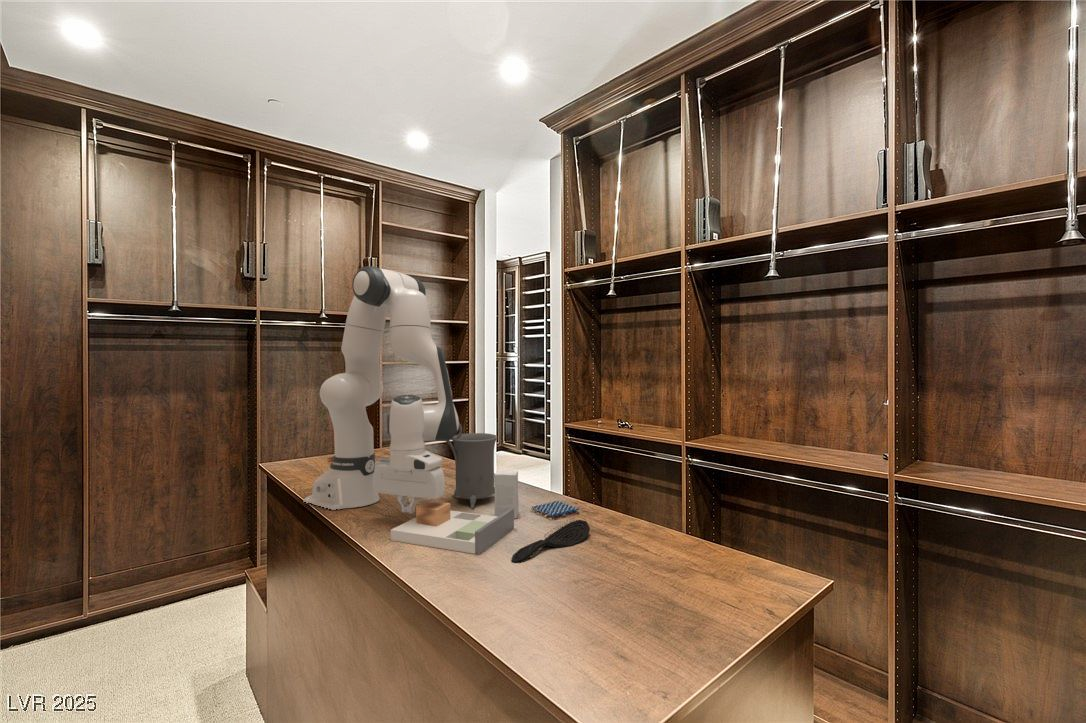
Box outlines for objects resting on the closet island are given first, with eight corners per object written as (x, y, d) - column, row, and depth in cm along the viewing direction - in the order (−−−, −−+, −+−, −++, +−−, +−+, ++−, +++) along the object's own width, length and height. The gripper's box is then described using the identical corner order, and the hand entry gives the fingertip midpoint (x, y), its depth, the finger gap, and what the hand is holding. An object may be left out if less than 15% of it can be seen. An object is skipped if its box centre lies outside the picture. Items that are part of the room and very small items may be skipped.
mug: (489, 491, 164) (488, 414, 164) (511, 502, 152) (510, 418, 151) (433, 500, 154) (432, 418, 154) (452, 513, 142) (451, 423, 141)
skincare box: (518, 514, 141) (518, 471, 140) (516, 519, 136) (516, 474, 136) (497, 513, 141) (496, 470, 141) (494, 518, 137) (493, 474, 137)
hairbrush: (498, 546, 111) (570, 513, 129) (499, 563, 111) (571, 527, 130) (526, 557, 105) (597, 520, 124) (527, 574, 105) (597, 535, 124)
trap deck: (390, 540, 121) (390, 519, 121) (434, 517, 138) (433, 499, 138) (479, 554, 112) (478, 532, 112) (514, 528, 129) (513, 508, 129)
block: (416, 523, 126) (416, 507, 126) (430, 516, 131) (430, 500, 131) (436, 526, 124) (436, 510, 123) (450, 518, 129) (450, 503, 129)
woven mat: (557, 506, 149) (557, 499, 149) (581, 515, 141) (581, 508, 141) (528, 513, 143) (528, 505, 143) (551, 523, 135) (551, 515, 135)
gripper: (366, 458, 131) (367, 511, 131) (433, 464, 124) (434, 520, 124) (382, 454, 137) (383, 505, 137) (448, 459, 130) (448, 513, 130)
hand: (408, 512), depth 131 cm, fingers closed
